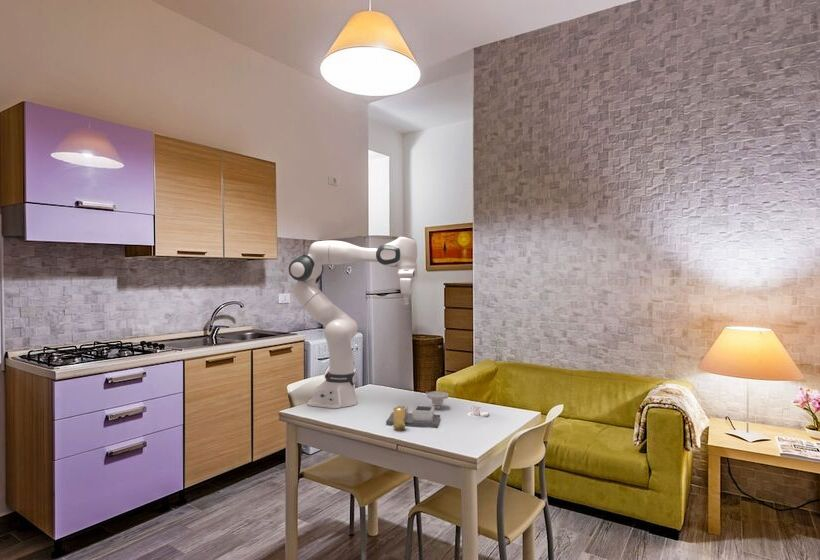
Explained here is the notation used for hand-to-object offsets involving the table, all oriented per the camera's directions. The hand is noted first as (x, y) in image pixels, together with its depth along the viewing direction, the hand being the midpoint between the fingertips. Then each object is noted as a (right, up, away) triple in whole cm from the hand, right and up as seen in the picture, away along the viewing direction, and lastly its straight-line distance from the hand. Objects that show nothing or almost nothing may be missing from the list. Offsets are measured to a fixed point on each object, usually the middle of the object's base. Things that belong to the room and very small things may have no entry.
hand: (407, 304), depth 203 cm
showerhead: (+13, -46, 0) cm, 48 cm away
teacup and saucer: (+29, -47, -13) cm, 57 cm away
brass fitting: (-3, -46, -29) cm, 54 cm away
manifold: (+3, -46, -19) cm, 50 cm away
